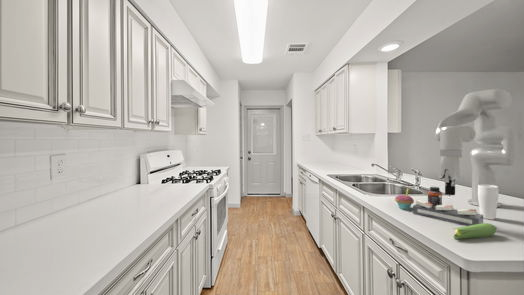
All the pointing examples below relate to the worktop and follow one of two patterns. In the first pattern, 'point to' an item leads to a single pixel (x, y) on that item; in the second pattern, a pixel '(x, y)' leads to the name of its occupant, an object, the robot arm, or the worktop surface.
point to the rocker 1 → (424, 203)
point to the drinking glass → (488, 200)
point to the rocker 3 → (467, 211)
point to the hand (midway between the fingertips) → (450, 194)
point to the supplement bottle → (435, 196)
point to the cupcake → (404, 201)
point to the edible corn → (475, 231)
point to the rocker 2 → (444, 207)
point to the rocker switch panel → (448, 215)
